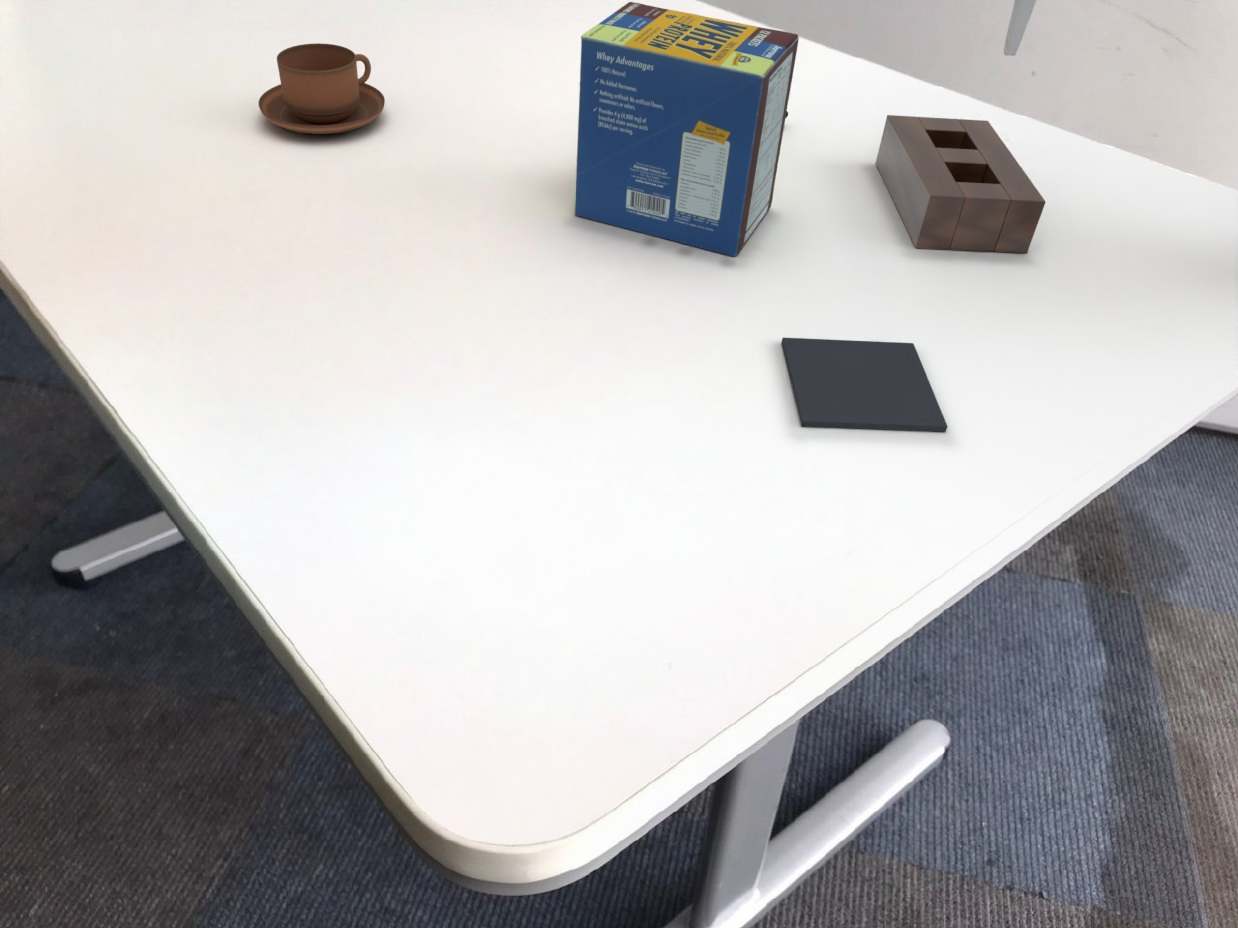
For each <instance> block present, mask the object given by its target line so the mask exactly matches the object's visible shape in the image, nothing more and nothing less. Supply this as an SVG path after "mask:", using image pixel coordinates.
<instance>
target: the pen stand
mask: <svg viewBox="0 0 1238 928" xmlns="http://www.w3.org/2000/svg"><path fill="white" fill-rule="evenodd" d="M875 165H876V167H877V170H878V171H879V174H880V176H881V178H882V180H883V182H884V185H885V187H886V189H887V191H888V194H889V196H890V197H891V199H892V201H893V204H894V206H895V207H896V210H897V212H898V214H899V216H900V218H901V220H902V222H903V225H904V227H905V229H906V231H907V234H908V235H909V238H910V239H911V242H912V244H913V246H914V248H915V249H919V250H921V249H922V250H923V249H924V250H940V251H941V250H943V251H945V250H946V251H949V250H950V251H968V252H986V253H987V252H988V253H993V252H994V253H1009V254H1028V251H1029V249H1030V246H1031V243H1032V241H1033V238H1034V235H1035V232H1036V230H1037V227H1038V224H1039V223H1040V222H1039V221H1040V219H1041V216H1042V213H1043V211H1044V208H1045V205H1046V200H1045V199H1044V197H1043V196H1042V194H1041V193H1040V191H1039V190H1038V189H1037V187H1036V186H1035V185H1034V183H1033V182H1032V180H1031V179H1030V177H1029V176H1028V174H1027V173H1026V172H1025V170H1024V169H1023V168H1022V166H1021V165H1020V164H1019V162H1018V161H1017V159H1016V158H1015V157H1014V155H1013V153H1012V152H1011V151H1010V150H1009V148H1008V147H1007V145H1006V144H1005V142H1004V141H1003V140H1002V138H1001V137H1000V136H999V134H998V132H997V131H996V130H995V128H994V127H993V126H992V124H991V123H990V121H989V120H984V119H983V120H982V119H963V118H947V117H945V118H944V117H929V116H927V117H926V116H914V115H913V116H912V115H911V116H910V115H895V114H894V115H893V114H887V115H886V119H885V123H884V127H883V131H882V134H881V139H880V143H879V148H878V152H877V155H876V159H875Z"/></svg>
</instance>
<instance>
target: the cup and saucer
mask: <svg viewBox="0 0 1238 928" xmlns="http://www.w3.org/2000/svg"><path fill="white" fill-rule="evenodd" d="M357 62H362V64H363V66H364V72H363V74H362V76H361V77H359V76H358V75H359V74H358V63H357ZM276 63H277V68H278V75H279V80H280V84H278V85H276V86H273V87H271V88H269V89H268V90H266V91H264V93H262V95H261V96H260V97H259V100H258V107H259V110H260V112H261V114H262V116H264V118H265V119H267V120H269V121H270V122H271V123H273V124H274V125H275V126H278V127H280V128H282V129H285V130H288V131H291V132H297V133H302V134H312V135H313V134H314V135H327V134H329V135H330V134H337V133H344V132H349V131H353V130H356V129H359V128H362V127H364V126H366V125H368V124H370V123H371V122H373V121H374V120H375V119H376V118H377V117H379V115H381V113H383V110H384V108H385V101H386V100H385V96H384V94H383V93H382V92H381V91H380V90H379V89H378V88H376V87H375V86H373V85H371V84H368V83H366V82H367V81H368V80H369V79H370V76H371V72H372V65H371V62H370V60H369V58H368V57H367V56H366V55H364V54H362V53H355V52H354V51H353V50H351V49H349V48H347V47H345V46H342V45H337V44H334V43H333V44H332V43H303V44H298V45H294V46H290V47H288V48H285V49H283V50H281V51H280V52H279V53H278V54H277V55H276Z"/></svg>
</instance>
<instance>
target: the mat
mask: <svg viewBox="0 0 1238 928" xmlns="http://www.w3.org/2000/svg"><path fill="white" fill-rule="evenodd" d="M781 346H782V351H783V354H784V358H785V363H786V367H787V371H788V376H789V379H790V383H791V387H792V392H793V396H794V400H795V405H796V408H797V412H798V418H799V421H800V425H801V427H812V428H813V427H814V428H837V429H839V428H840V429H860V430H861V429H864V430H888V431H915V432H916V431H917V432H941V433H943V432H944V433H945V432H947V429H948V424H947V421H946V419H945V417H944V414H943V412H942V409H941V407H940V404H939V402H938V400H937V397H936V395H935V393H934V390H933V388H932V385H931V382H930V380H929V378H928V376H927V373H926V371H925V368H924V366H923V363H922V361H921V359H920V356H919V354H918V351H917V349H916V347H915V344H914V342H896V341H895V342H894V341H876V340H875V341H874V340H852V339H850V340H849V339H825V338H806V337H805V338H803V337H782V338H781Z"/></svg>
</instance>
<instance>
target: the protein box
mask: <svg viewBox="0 0 1238 928" xmlns="http://www.w3.org/2000/svg"><path fill="white" fill-rule="evenodd" d="M799 40H800V38H799V35H798V34H797V33H793V32H789V31H785V30H784V31H783V30H778V29H772V28H768V27H767V28H766V27H762V26H761V27H760V26H756V25H751V24H745V23H741V22H735V21H730V20H726V19H721V18H720V19H719V18H714V17H709V16H705V15H700V14H696V13H690V12H684V11H679V10H673V9H668V8H662V7H658V6H655V5H653V6H652V5H648V4H644V3H639V2H634V1H628V2H627V3H626V4H624V5H623V6H621V7H620V8H619V9H617V10H615V11H614V12H613V13H611V15H609V16H607V17H605V19H603V20H601V22H599V23H597V24H595V25H594V26H593V27H592V28H590V29H589V30H587V31H586V32H584V33H583V34H582V35H581V36H580V65H579V66H580V69H579V95H578V116H577V117H578V121H577V144H576V166H575V167H576V169H575V191H574V212H573V213H574V215H575V216H578V217H581V218H585V219H589V220H593V221H597V222H600V223H605V224H607V225H612V226H616V227H619V228H623V229H627V230H631V231H635V232H638V233H642V234H646V235H650V236H652V237H653V236H654V237H657V238H661V239H664V240H669V241H672V242H677V243H681V244H685V245H688V246H691V247H695V248H699V249H702V250H706V251H710V252H714V253H719V254H721V255H726V256H730V257H737V256H738V255H739V253H740V252H741V251H742V249H743V248H744V246H745V245H746V244H747V242H748V241H749V239H750V237H751V236H752V235H753V234H754V232H755V231H756V229H757V228H758V226H759V225H760V223H761V222H762V221H763V220H764V218H765V216H766V215H767V213H768V212H769V210H770V209H771V207H772V203H773V198H774V190H775V184H776V178H777V171H778V165H779V160H780V154H781V146H782V142H783V140H782V139H783V135H784V130H785V122H786V112H788V105H789V104H788V103H789V100H790V94H791V89H792V84H793V83H792V81H793V76H794V71H795V64H796V59H797V58H796V57H797V52H798V46H799Z"/></svg>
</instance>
